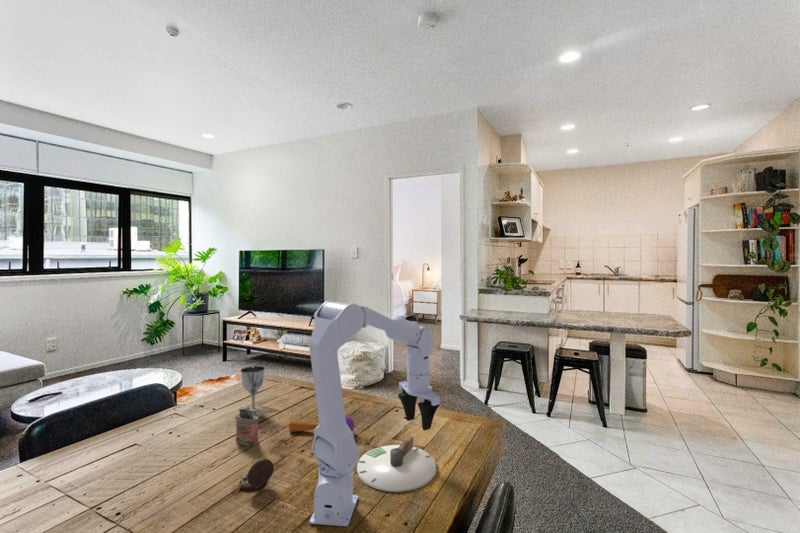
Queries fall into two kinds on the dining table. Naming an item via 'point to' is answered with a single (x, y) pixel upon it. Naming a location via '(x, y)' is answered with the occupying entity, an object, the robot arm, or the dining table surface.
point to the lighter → (247, 427)
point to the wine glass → (253, 382)
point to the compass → (257, 475)
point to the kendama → (314, 425)
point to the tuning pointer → (401, 452)
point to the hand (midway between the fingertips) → (418, 424)
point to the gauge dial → (396, 469)
